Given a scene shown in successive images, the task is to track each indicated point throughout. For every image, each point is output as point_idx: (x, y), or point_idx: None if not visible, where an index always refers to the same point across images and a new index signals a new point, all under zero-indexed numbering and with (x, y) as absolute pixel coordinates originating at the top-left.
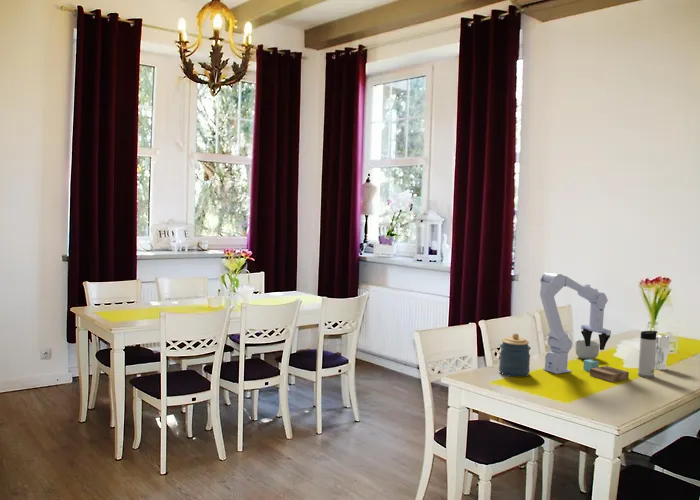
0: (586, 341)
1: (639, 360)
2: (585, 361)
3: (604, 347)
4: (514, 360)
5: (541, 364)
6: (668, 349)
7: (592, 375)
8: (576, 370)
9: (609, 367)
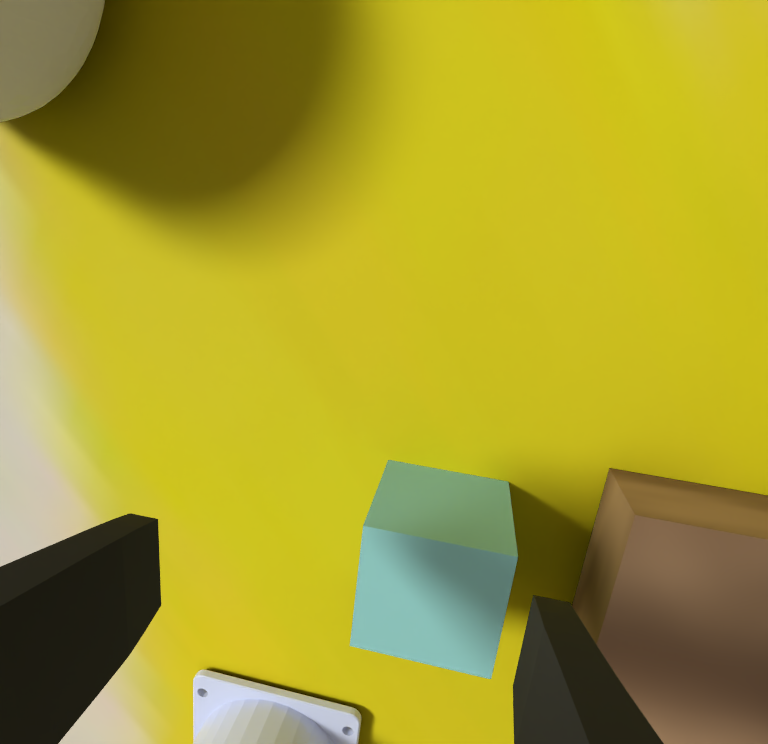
0: (67, 721)
1: None
2: (378, 643)
3: (595, 645)
4: None
5: None
6: None
7: None
8: (351, 626)
9: (705, 564)
